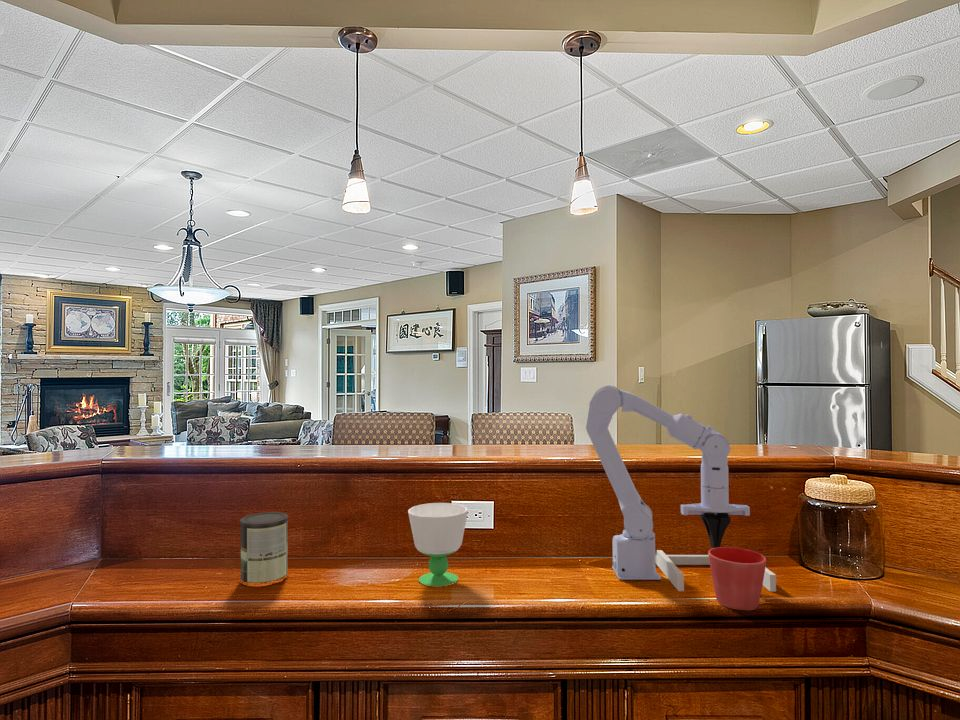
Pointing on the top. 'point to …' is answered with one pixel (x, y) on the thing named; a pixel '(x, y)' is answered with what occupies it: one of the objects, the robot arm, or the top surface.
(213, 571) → the top surface
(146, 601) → the top surface
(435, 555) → the cup
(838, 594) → the top surface
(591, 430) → the robot arm
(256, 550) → the coffee can
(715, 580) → the flower pot
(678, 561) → the u-shaped frame
